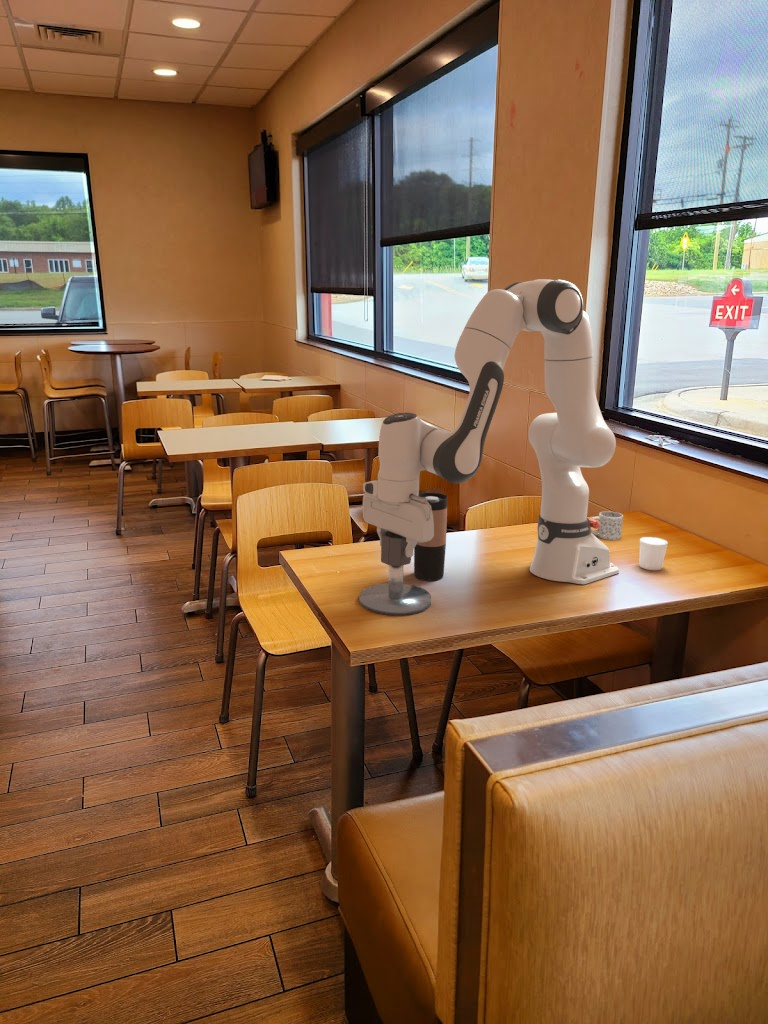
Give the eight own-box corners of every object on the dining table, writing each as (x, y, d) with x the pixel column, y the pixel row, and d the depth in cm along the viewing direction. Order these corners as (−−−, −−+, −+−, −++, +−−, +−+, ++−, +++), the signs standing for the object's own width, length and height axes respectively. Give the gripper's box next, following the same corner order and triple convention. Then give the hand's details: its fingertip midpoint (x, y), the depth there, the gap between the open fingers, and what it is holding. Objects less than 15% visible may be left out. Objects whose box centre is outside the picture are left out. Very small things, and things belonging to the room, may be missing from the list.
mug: (615, 533, 222) (618, 511, 221) (624, 540, 216) (626, 517, 214) (582, 533, 222) (584, 511, 220) (590, 540, 215) (592, 517, 214)
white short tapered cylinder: (655, 572, 190) (658, 546, 188) (631, 565, 195) (634, 539, 193) (669, 567, 194) (673, 541, 192) (646, 560, 199) (649, 534, 197)
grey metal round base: (409, 584, 179) (410, 542, 176) (444, 608, 165) (446, 564, 162) (347, 594, 172) (348, 551, 169) (379, 620, 158) (380, 574, 155)
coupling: (397, 554, 170) (398, 528, 168) (416, 561, 165) (417, 535, 163) (375, 559, 166) (376, 533, 164) (394, 567, 161) (394, 540, 160)
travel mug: (425, 568, 189) (428, 490, 184) (450, 575, 185) (454, 496, 179) (406, 576, 184) (409, 496, 178) (432, 583, 179) (435, 502, 174)
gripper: (442, 497, 155) (439, 561, 159) (380, 479, 171) (379, 537, 174) (419, 502, 152) (416, 567, 155) (358, 482, 167) (357, 542, 171)
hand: (396, 551), depth 165 cm, fingers closed on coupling, 6 cm apart
